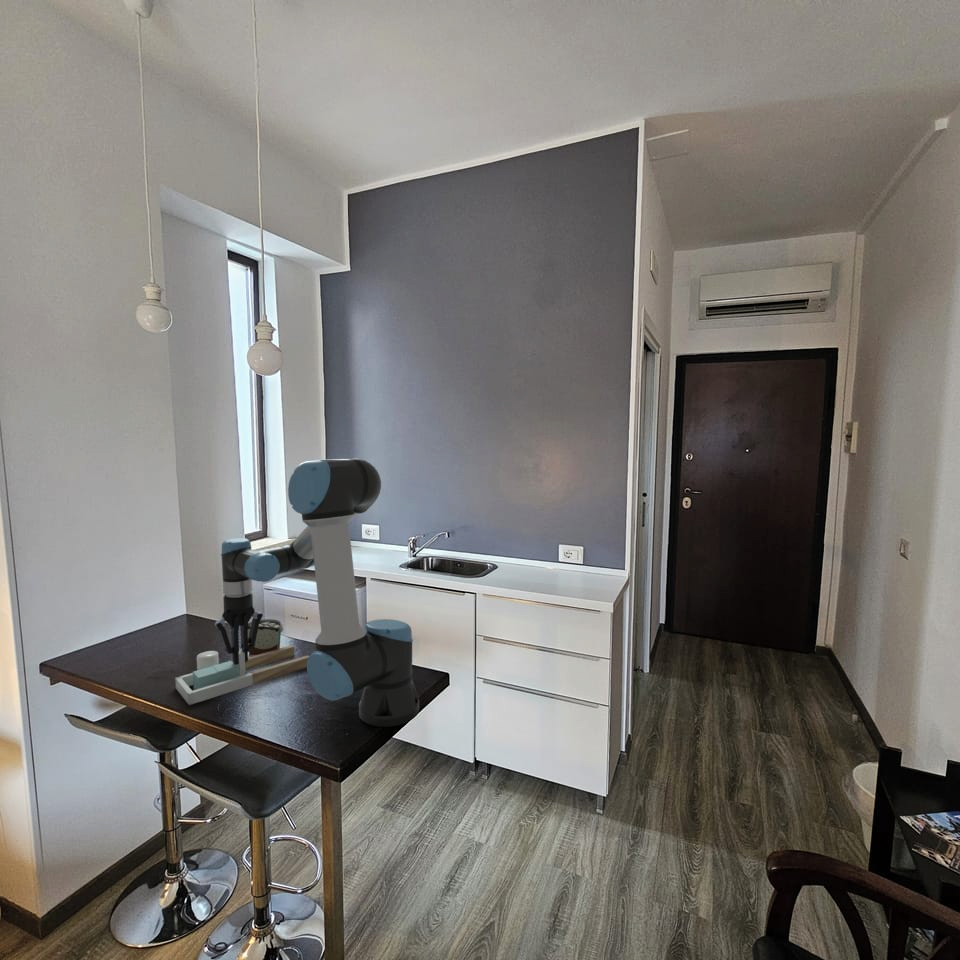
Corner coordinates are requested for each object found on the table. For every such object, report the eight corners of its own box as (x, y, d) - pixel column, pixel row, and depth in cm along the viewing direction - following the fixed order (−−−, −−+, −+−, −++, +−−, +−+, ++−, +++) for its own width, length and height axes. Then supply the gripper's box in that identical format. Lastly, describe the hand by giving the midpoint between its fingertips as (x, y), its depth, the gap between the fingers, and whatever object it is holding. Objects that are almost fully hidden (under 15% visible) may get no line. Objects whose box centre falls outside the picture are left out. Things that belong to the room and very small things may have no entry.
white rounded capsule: (221, 674, 155) (221, 655, 155) (200, 681, 151) (200, 660, 151) (215, 668, 159) (214, 649, 159) (195, 674, 155) (194, 654, 155)
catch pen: (252, 684, 149) (252, 674, 149) (189, 705, 138) (188, 694, 138) (236, 670, 158) (236, 660, 158) (175, 688, 147) (175, 677, 147)
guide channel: (309, 666, 161) (309, 657, 161) (252, 684, 149) (252, 674, 149) (292, 654, 170) (292, 645, 169) (236, 670, 158) (236, 660, 158)
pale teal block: (237, 683, 150) (237, 666, 149) (218, 689, 146) (218, 671, 146) (231, 677, 154) (230, 660, 153) (213, 682, 150) (212, 665, 150)
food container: (290, 649, 174) (289, 619, 173) (281, 657, 168) (281, 626, 167) (254, 647, 175) (253, 617, 174) (244, 655, 169) (243, 624, 168)
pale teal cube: (218, 689, 147) (218, 672, 146) (199, 695, 143) (198, 677, 143) (213, 683, 150) (212, 666, 150) (193, 689, 147) (192, 671, 146)
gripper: (256, 586, 158) (258, 662, 160) (208, 595, 149) (212, 676, 151) (266, 591, 152) (268, 671, 155) (217, 601, 143) (221, 685, 146)
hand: (240, 673), depth 153 cm, fingers closed
